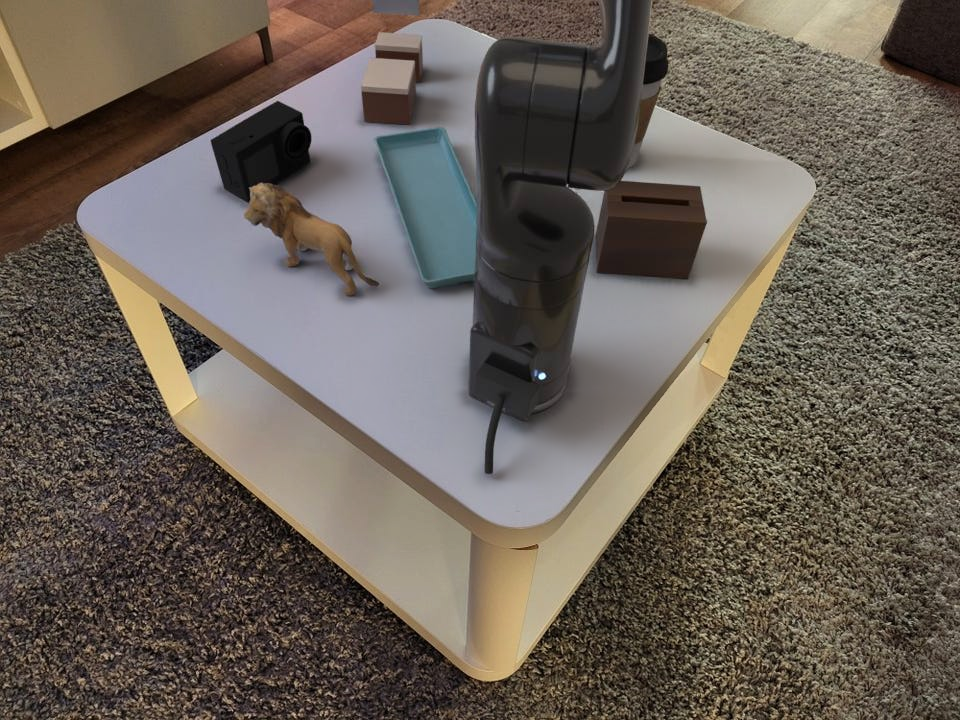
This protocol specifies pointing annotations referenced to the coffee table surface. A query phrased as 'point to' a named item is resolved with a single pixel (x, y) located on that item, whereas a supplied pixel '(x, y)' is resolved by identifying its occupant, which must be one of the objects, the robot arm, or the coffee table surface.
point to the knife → (396, 7)
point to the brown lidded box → (389, 91)
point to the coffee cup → (650, 88)
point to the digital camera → (262, 149)
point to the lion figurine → (303, 231)
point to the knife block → (650, 229)
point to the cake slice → (401, 49)
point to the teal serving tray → (432, 203)
